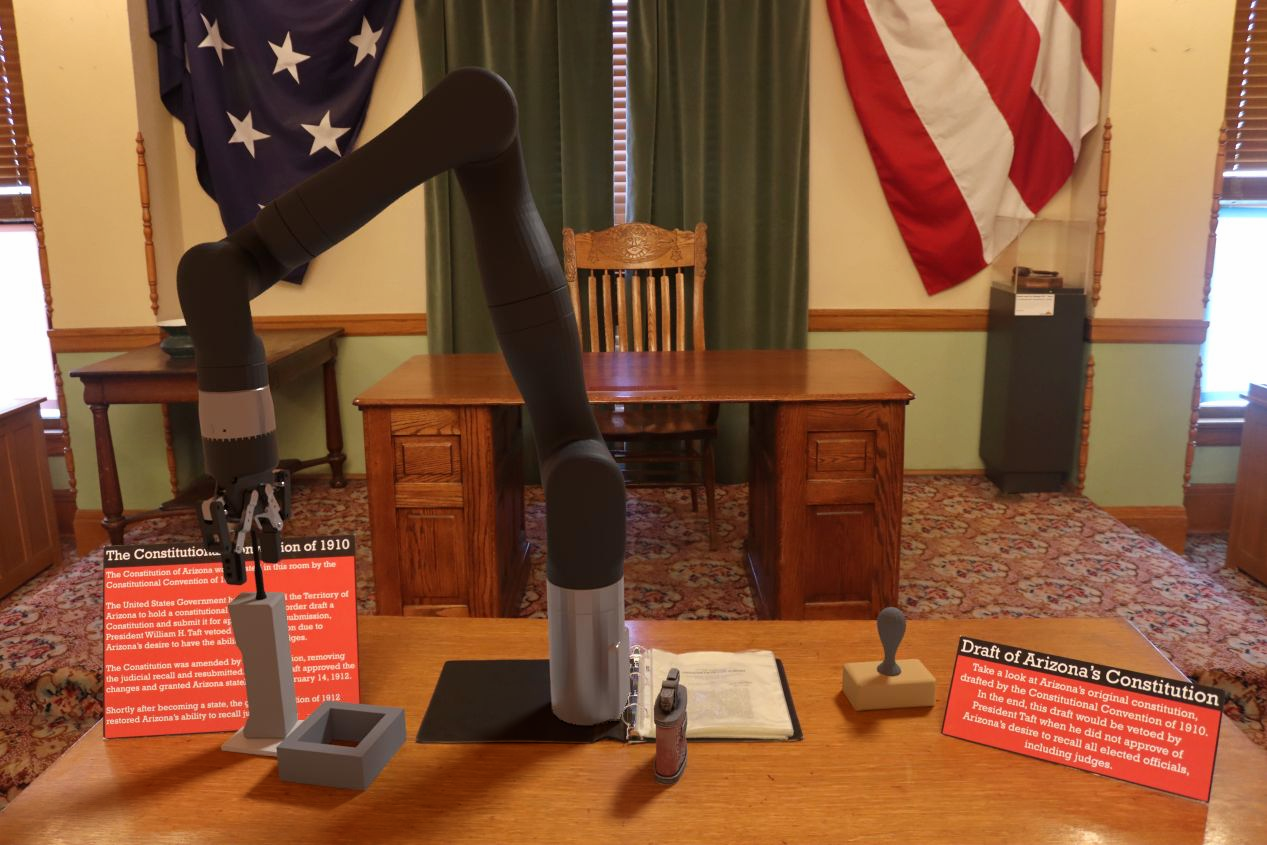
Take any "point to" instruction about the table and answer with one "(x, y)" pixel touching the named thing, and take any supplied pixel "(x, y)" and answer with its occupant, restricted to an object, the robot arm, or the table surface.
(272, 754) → the tile
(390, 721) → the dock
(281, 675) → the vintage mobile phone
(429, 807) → the table surface
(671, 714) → the lighter
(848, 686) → the rubber stamp
